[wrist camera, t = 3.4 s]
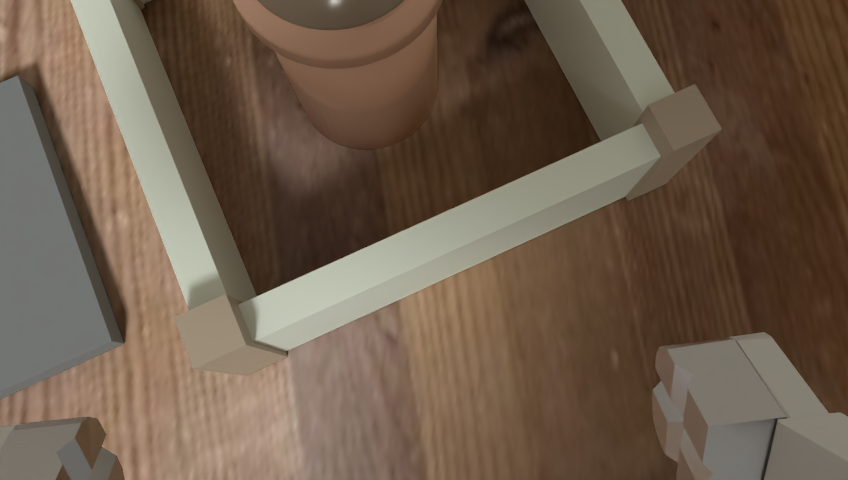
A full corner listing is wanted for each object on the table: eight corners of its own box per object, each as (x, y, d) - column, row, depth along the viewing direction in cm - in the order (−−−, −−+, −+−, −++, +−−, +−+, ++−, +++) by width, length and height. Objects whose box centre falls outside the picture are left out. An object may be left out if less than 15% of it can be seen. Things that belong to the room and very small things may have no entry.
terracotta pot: (475, 119, 27) (490, -15, 18) (326, 185, 27) (267, 82, 18) (407, -14, 29) (391, -200, 20) (264, 48, 28) (180, -112, 19)
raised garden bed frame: (666, 183, 27) (721, 129, 21) (246, 375, 26) (193, 369, 20) (471, -165, 30) (477, -287, 25) (95, -10, 29) (16, -102, 24)
